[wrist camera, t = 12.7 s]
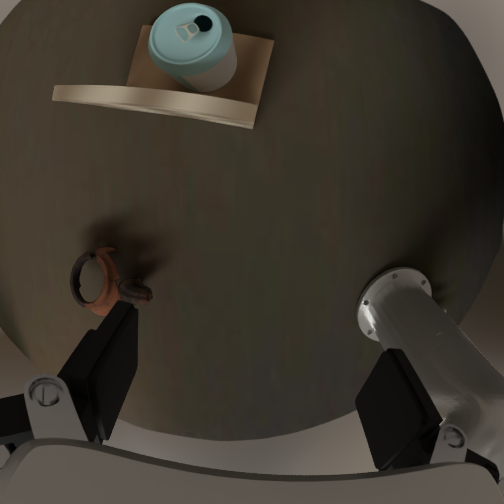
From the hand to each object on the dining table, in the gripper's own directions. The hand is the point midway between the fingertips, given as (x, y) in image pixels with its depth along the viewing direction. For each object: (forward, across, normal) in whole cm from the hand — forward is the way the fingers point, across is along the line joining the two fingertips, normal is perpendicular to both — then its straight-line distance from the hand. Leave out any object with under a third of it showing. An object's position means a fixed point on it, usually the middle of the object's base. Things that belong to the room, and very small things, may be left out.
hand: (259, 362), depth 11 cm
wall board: (+28, +10, -14) cm, 33 cm away
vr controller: (+29, +16, +14) cm, 36 cm away
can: (+27, +9, -15) cm, 32 cm away
